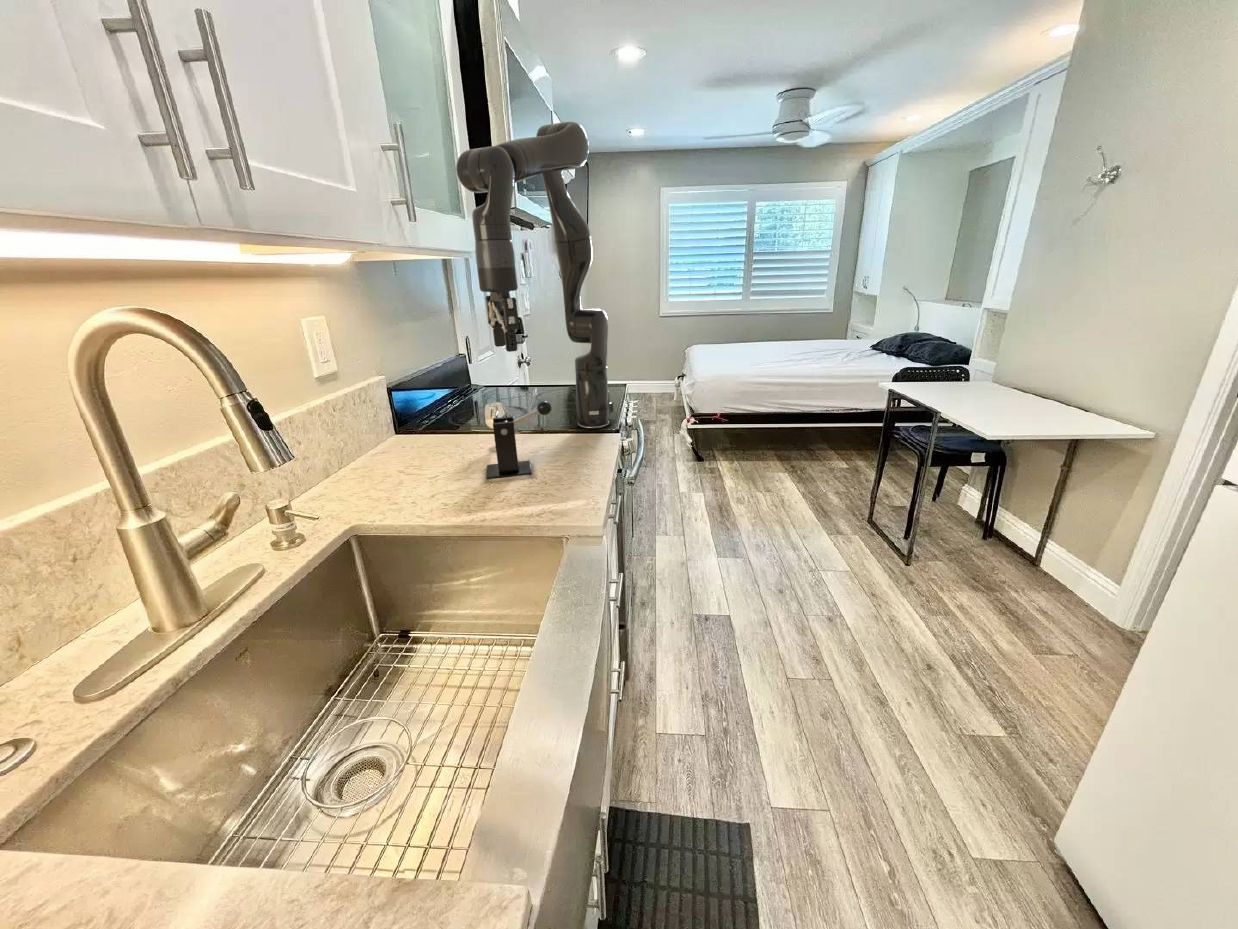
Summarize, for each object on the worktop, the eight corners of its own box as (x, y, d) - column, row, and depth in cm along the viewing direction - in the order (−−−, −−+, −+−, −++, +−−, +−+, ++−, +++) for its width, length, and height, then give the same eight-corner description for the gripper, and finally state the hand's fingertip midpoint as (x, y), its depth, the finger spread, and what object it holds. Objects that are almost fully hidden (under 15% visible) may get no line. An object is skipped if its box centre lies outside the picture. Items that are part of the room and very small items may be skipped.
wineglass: (505, 453, 126) (500, 408, 121) (484, 452, 127) (478, 407, 123) (514, 445, 131) (509, 402, 127) (494, 444, 132) (488, 401, 128)
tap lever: (553, 409, 112) (546, 397, 111) (554, 413, 109) (548, 400, 108) (501, 434, 111) (494, 422, 110) (501, 439, 109) (494, 426, 107)
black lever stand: (530, 464, 118) (525, 413, 113) (532, 477, 111) (526, 423, 106) (487, 469, 116) (480, 417, 111) (486, 482, 109) (479, 427, 104)
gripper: (526, 264, 93) (534, 351, 99) (504, 265, 105) (512, 342, 111) (486, 265, 90) (497, 355, 96) (469, 266, 101) (479, 346, 107)
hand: (505, 348), depth 103 cm, fingers open, 8 cm apart
